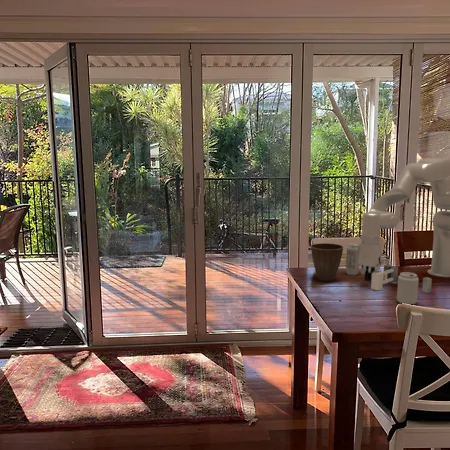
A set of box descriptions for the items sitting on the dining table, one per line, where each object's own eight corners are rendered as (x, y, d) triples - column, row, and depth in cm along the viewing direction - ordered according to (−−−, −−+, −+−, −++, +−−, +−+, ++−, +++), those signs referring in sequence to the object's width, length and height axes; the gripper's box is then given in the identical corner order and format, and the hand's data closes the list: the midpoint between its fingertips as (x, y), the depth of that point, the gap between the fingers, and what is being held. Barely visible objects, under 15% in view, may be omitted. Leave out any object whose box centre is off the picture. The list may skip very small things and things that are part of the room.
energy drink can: (361, 274, 212) (362, 245, 210) (352, 276, 209) (353, 246, 207) (351, 272, 218) (353, 243, 215) (343, 273, 215) (344, 244, 212)
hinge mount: (388, 279, 204) (389, 264, 203) (400, 283, 197) (401, 267, 196) (381, 280, 202) (382, 265, 201) (393, 285, 196) (394, 269, 194)
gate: (398, 282, 198) (399, 267, 197) (377, 290, 187) (378, 274, 186) (392, 281, 200) (393, 266, 199) (371, 288, 189) (371, 273, 188)
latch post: (426, 290, 187) (427, 277, 186) (430, 292, 185) (431, 278, 184) (422, 291, 186) (423, 278, 185) (426, 292, 184) (427, 279, 183)
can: (418, 306, 168) (421, 276, 166) (398, 305, 170) (400, 275, 168) (414, 300, 175) (416, 271, 173) (395, 299, 177) (396, 270, 175)
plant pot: (307, 281, 201) (308, 248, 198) (312, 273, 215) (313, 242, 212) (340, 284, 196) (342, 250, 194) (342, 276, 210) (344, 244, 208)
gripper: (351, 238, 194) (349, 277, 197) (380, 244, 182) (377, 285, 185) (361, 236, 198) (359, 275, 201) (390, 242, 186) (388, 282, 189)
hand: (368, 280), depth 193 cm, fingers closed
